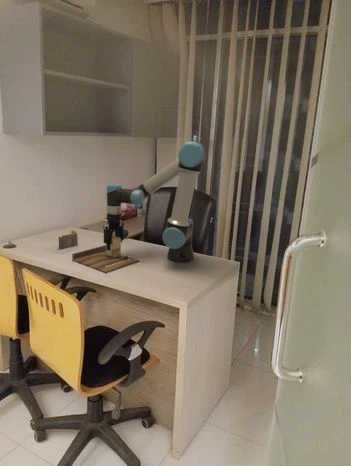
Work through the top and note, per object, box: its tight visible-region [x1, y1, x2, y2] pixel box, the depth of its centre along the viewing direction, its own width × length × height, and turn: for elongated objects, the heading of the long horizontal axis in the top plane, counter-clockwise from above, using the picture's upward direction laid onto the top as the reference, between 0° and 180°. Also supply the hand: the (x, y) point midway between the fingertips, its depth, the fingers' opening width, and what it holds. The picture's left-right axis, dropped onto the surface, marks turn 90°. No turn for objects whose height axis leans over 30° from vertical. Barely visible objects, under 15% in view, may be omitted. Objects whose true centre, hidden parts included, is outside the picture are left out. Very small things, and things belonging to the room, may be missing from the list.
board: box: [71, 244, 141, 274], centre depth 194 cm, size 26×24×4 cm
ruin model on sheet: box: [58, 230, 79, 250], centre depth 214 cm, size 11×3×10 cm, turn 143°
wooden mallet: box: [105, 236, 129, 260], centre depth 197 cm, size 13×5×10 cm, turn 53°
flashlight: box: [112, 228, 129, 239], centre depth 236 cm, size 15×5×5 cm, turn 163°
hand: (113, 254), depth 201 cm, fingers closed on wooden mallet, 5 cm apart
